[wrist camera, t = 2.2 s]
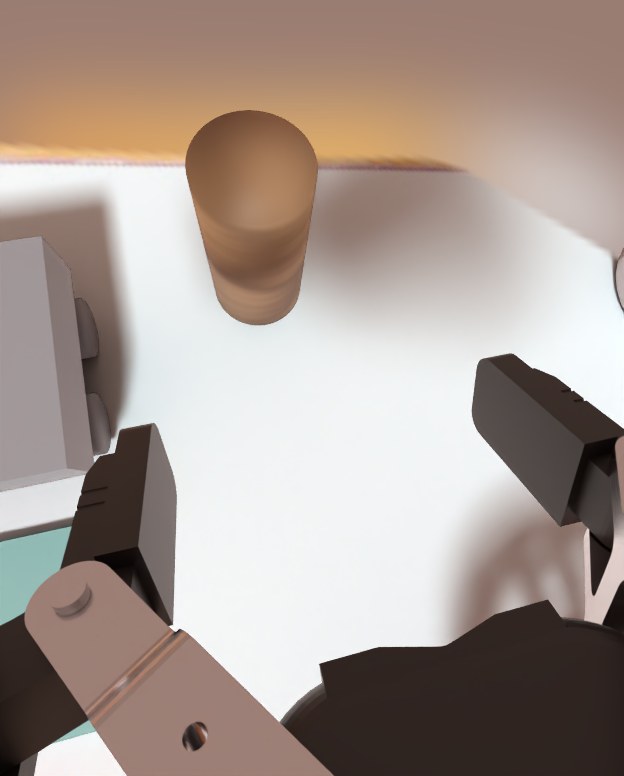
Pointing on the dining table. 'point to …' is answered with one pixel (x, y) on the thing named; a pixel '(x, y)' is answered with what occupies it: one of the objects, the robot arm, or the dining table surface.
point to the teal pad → (31, 579)
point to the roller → (253, 210)
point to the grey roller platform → (45, 370)
